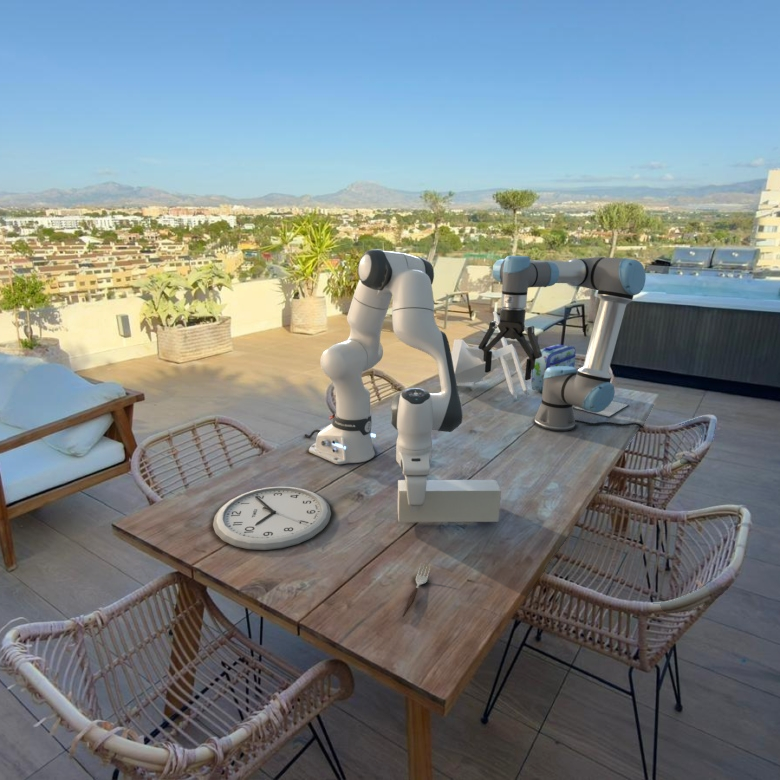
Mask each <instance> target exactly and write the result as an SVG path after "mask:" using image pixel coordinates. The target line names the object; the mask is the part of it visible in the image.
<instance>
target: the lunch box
mask: <svg viewBox="0 0 780 780" xmlns="http://www.w3.org/2000/svg"><path fill="white" fill-rule="evenodd" d="M540 350H541V353H542V357H540V358H538V359H536V360H535V368H534V369H533V370H531V382H530V383H531V386H530V387H531V389H532V390H533V391H537V392H542V391H543V380H544V379H543V378H544V375H545V370H546V369H547V368H549V367H555V366H570V367H575V364H576V357H577V355H576V347H575V346H569V345H565V344H554V345H550V346H547V347H544V348H542V349H541V348H540Z"/></svg>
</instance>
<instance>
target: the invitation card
mask: <svg viewBox="0 0 780 780" xmlns="http://www.w3.org/2000/svg"><path fill="white" fill-rule="evenodd" d="M628 406H629V404H627V403H623V402H618V401H614V400H612V402H611V403H610V404H609V406H608V407H606V408H605V409H604V410H603V411H601V412H596V413H595V412H591V411H586V410H584V409H582V408H579V407H576V406H574V407H573V409H575V410H581V411H584V412H587V413H593V414H596V415H600V416H604V417H608V418H609V417H611V416H613V415H614V414H616V413H617V412H619V411H621V410H623V409H624V408H626V407H628Z"/></svg>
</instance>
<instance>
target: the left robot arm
mask: <svg viewBox="0 0 780 780" xmlns="http://www.w3.org/2000/svg"><path fill="white" fill-rule="evenodd" d="M357 276H358V279H359V280H358V283H357V285H356V287H355V291H354V293H353V295H352V299H351V303H350V306H349V309H348V312H347V315H346V321H347V324H348V325H349V327H350V333H349V337H348V338H347V339H346V340H345V341H341V342H338V343H335V344H333V345H331V346H330V347H328V348H327V349H325V350H324V351H323V352H322V354H321V356H320V360H319V361H320V363H319V365H320V367H321V371H322V372H323V374H324V375H325V376H326V377H327V378H329V379H330V381H331V383H332V386H333V389H334V393H335V410H336V411H335V412H334V413H333V414H332V415H330V416H329V420H331V423H329V424H328V425H325V426H322V427H319V428H317V429H314V430H313V431H311V433H310V434H306V433H305V434H304V437H305V438H308V439H309V438H311V437H313V435H314V434H315V433H317V434H316V439H315V442H314V443H313V444H311V445H310V447H309V448H308V452H309V453H311V454H313V455H315V456H316V457H319V458H322V459H324V460H326V461H328V462H330V463H333V464H335V465H345V464H357V463H359V464H360V463H363V462H367V461H370V460H371V459H373V458H374V457H375V455H376V452H375V449H374V446H373V440H372V438H376V433H372V413H371V392H370V389H369V388H368V387H366V386H365V384H364V382H363V377H362V376H363V375H362V374H363V372H366V371H369V370H371V369H373V368H374V367H375V366H376V365H378V363H380V362H381V361H382V359H383V356H384V348H383V345H382V343H381V334H382V328H383V325H384V322H385V319H386V317H387V313H388V310H389V308H390V304H391V301H392V306H391V319H392V320H391V321H392V330H393V333H394V335H395V337H396V338H397V339H398V340H399V341H400V342H402V343H403V344H405V345H406V346H408V347H410V348H413V349H415V350H418V351H420V352H423V353H425V354H426V355H428V356H430V357H431V358H432V359H433V360H434V361H435V364H436V367H437V373H438V379H439V384H440V392H437V393H431V392H429V391H427V390H426V389H423V388H421V387H420V388H419V387H410V388H407V389H404V390H402V391H401V393H399V394H397V395H396V396H395V397H394V398H393V399H392V400H391V402H390V408H391V418H390V424H391V425H392V426H393V428H394V429H395V430H396V431H397V439H396V448H395V449H396V450H395V451H396V453H395V455H396V456H395V460H396V462H397V463H398V465H399V467H400V469H401V472H402V475H403V476H404V480H405V482H406V490H407V499H408V504H409V505H410V512H417V507H418V506H422V505H423V503H424V500H425V493H426V484H427V480H428V476H429V475H430V473H431V463H432V457H433V456H432V455H433V454H432V453H433V439H432V432H433V431H437V432H446V433H451V432H454V431H455V430H456V429H458V427H459V426H460V425H461V424H463V423H462V422H463V418H464V409H463V405H462V402H461V399H460V394H459V389H458V384H456V378H455V373H454V367H453V361H452V356H451V352H452V350H451V347H450V341H449V339H448V337H447V334H446V333H445V332H444V331H442V330H441V329H440V328H439V326H438V325H437V322H436V319H435V300H434V292H433V286H432V285H433V283H434V279H435V272H434V266H433V265H432V263H431V262H430V261H429V260H427V259H425V258H423V257H421V256H414V255H411V254H409V253H404V252H400V251H399V252H396V251H389V250H382V249H369V250H368V249H367V250H366V251H365V252H364V253H363V254H362V255H361V257H360V259H359V262H358V266H357Z"/></svg>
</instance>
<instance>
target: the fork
mask: <svg viewBox="0 0 780 780" xmlns="http://www.w3.org/2000/svg"><path fill="white" fill-rule="evenodd" d="M422 565H423V566H422ZM431 566H432V564H430V565H429V568H428V563H427V565H426V567H425V563H424V564H423V563H422V562H421V563H420V565H419V568H418V572H417V574H416V576H415V583H416V587H414V589H413V591H411V593H410V595H409V597H408V598H407V602H406V605H405V608H404V610H403V614H402V618H404V617H405V616H406V614H407V612H408V611H409V610H410V607H411V606H412V605H413V603H414V602H415V599H416V597H417V593H418V590H419V587H420V586H422V585H425V584H426V583H428V580H429V576H430V572H431ZM421 568H422V569H421ZM427 570H428V572H427Z"/></svg>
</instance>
